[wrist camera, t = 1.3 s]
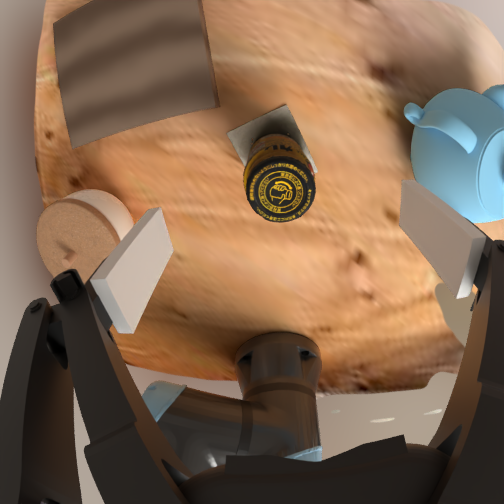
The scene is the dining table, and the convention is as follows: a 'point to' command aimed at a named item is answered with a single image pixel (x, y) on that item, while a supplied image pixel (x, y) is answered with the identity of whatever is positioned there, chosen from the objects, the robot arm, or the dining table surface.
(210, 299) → the dining table surface
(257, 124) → the condiment
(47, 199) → the dining table surface
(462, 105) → the teapot
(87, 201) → the lidded bowl
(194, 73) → the grey flat square piece
